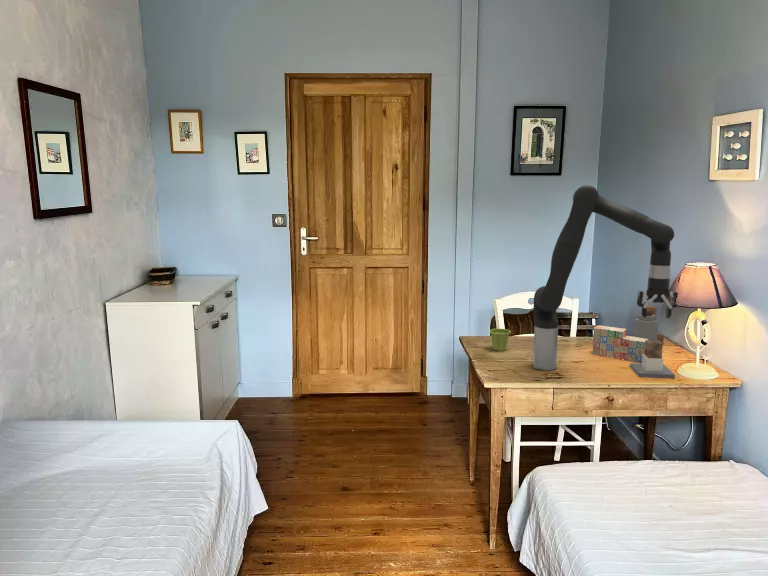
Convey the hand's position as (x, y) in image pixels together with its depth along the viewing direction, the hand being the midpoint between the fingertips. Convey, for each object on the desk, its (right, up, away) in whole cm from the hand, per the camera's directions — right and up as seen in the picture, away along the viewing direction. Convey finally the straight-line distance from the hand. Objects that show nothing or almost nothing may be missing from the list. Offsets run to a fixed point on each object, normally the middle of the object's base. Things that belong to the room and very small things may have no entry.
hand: (655, 317), depth 222 cm
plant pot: (-53, -17, +38) cm, 67 cm away
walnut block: (0, -16, +3) cm, 16 cm away
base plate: (0, -22, +4) cm, 22 cm away
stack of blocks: (-4, -19, +25) cm, 31 cm away
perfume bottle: (+12, -16, +36) cm, 41 cm away
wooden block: (+20, -15, +45) cm, 51 cm away
